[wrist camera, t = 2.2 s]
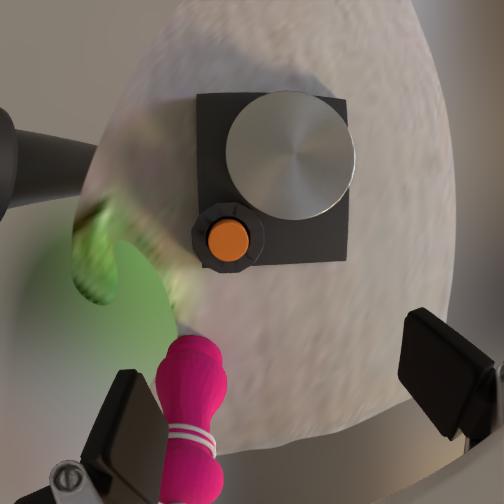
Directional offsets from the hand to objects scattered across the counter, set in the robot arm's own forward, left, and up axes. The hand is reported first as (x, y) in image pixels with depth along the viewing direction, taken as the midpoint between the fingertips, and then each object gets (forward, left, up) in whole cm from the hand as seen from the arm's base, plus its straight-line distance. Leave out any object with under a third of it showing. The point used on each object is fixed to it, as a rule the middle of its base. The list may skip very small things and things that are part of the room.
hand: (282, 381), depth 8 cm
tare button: (-2, +2, -16) cm, 17 cm away
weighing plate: (+4, +9, -16) cm, 19 cm away
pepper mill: (-6, -12, -19) cm, 24 cm away
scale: (+3, +7, -19) cm, 20 cm away
